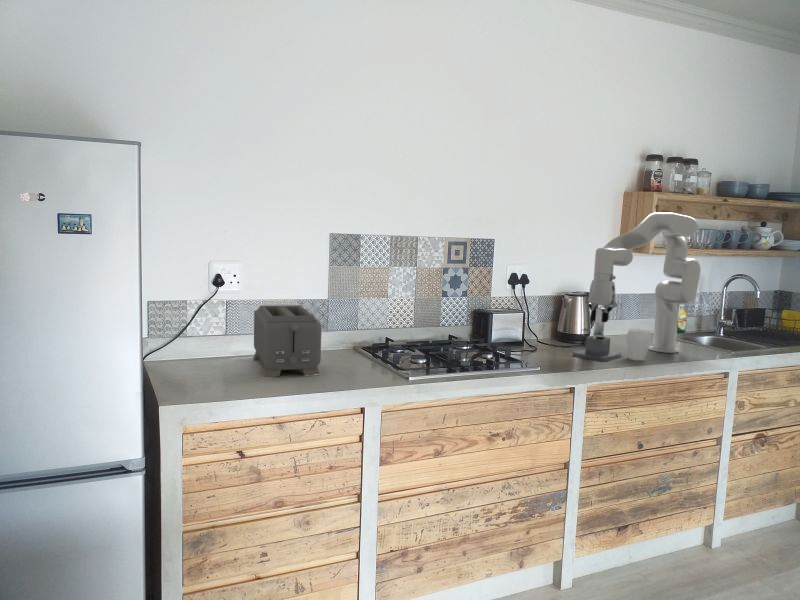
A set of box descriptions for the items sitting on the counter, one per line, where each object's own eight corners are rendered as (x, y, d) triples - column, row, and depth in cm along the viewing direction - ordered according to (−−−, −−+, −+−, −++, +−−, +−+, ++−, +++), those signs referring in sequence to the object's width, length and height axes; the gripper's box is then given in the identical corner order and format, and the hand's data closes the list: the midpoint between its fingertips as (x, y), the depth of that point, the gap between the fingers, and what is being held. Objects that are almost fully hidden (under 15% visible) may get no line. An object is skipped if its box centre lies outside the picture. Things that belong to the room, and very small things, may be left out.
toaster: (264, 380, 213) (265, 319, 211) (252, 358, 246) (253, 304, 244) (322, 378, 220) (324, 318, 217) (303, 356, 252) (304, 304, 250)
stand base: (590, 351, 286) (592, 331, 285) (621, 356, 276) (622, 335, 275) (572, 355, 274) (574, 334, 273) (603, 361, 265) (605, 340, 264)
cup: (649, 361, 268) (652, 333, 267) (626, 360, 270) (628, 331, 268) (645, 357, 277) (648, 329, 275) (623, 355, 279) (626, 328, 277)
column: (595, 337, 277) (598, 307, 276) (605, 339, 274) (608, 308, 273) (591, 338, 274) (593, 308, 273) (600, 340, 271) (603, 309, 270)
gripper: (626, 279, 268) (622, 323, 270) (588, 275, 279) (585, 317, 282) (618, 280, 263) (614, 324, 265) (580, 276, 274) (577, 319, 276)
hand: (599, 320), depth 273 cm, fingers closed on column, 4 cm apart
